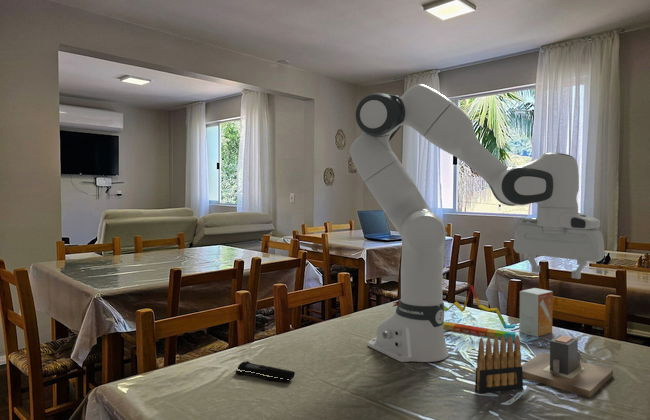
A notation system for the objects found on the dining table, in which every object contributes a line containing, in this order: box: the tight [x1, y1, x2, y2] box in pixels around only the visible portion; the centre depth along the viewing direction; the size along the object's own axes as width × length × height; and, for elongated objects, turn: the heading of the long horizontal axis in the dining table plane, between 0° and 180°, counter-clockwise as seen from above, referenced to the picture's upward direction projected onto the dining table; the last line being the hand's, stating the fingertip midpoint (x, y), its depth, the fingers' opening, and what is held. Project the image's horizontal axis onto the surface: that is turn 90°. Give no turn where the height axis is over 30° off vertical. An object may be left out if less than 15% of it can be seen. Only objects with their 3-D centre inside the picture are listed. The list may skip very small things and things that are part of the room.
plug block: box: [549, 334, 579, 375], centre depth 105 cm, size 4×6×7 cm, turn 132°
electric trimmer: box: [235, 360, 296, 382], centre depth 106 cm, size 4×16×3 cm, turn 65°
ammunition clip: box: [474, 334, 524, 395], centre depth 98 cm, size 11×2×12 cm, turn 101°
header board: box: [521, 350, 614, 399], centre depth 105 cm, size 16×16×5 cm
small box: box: [518, 287, 554, 338], centre depth 137 cm, size 8×6×13 cm
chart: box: [443, 284, 517, 342], centre depth 139 cm, size 30×3×15 cm, turn 56°
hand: (555, 275), depth 109 cm, fingers open, 8 cm apart
